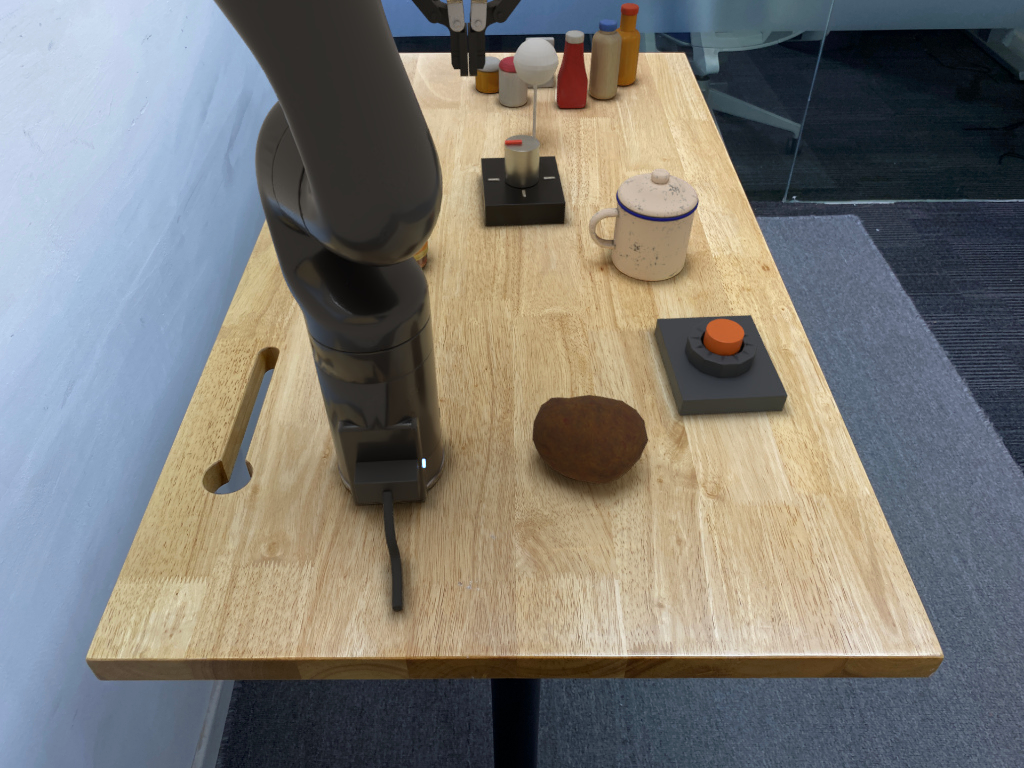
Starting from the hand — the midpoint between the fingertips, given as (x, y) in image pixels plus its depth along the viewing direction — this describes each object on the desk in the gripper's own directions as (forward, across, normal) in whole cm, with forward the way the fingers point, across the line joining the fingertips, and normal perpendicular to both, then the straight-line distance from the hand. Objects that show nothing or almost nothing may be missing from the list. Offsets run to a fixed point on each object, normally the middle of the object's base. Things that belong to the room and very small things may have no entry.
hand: (469, 72), depth 65 cm
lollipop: (+27, +10, +39) cm, 49 cm away
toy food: (+27, +15, +57) cm, 65 cm away
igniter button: (+23, +24, -10) cm, 35 cm away
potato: (+27, +9, -21) cm, 36 cm away
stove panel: (+27, +7, +24) cm, 37 cm away
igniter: (+27, +24, -10) cm, 37 cm away
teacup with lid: (+27, +19, +10) cm, 34 cm away
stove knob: (+24, +7, +24) cm, 34 cm away
